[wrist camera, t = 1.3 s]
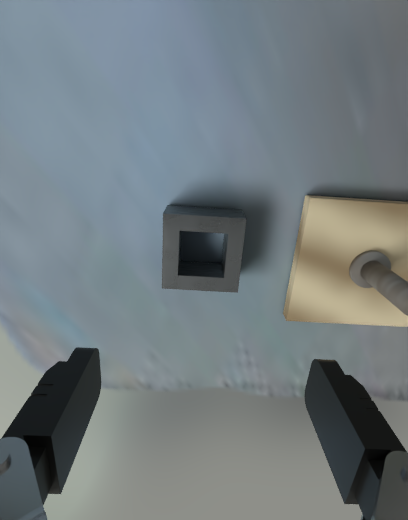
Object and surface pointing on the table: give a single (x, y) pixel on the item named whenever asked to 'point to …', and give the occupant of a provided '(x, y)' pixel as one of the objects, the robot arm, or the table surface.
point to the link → (202, 273)
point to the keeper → (350, 263)
